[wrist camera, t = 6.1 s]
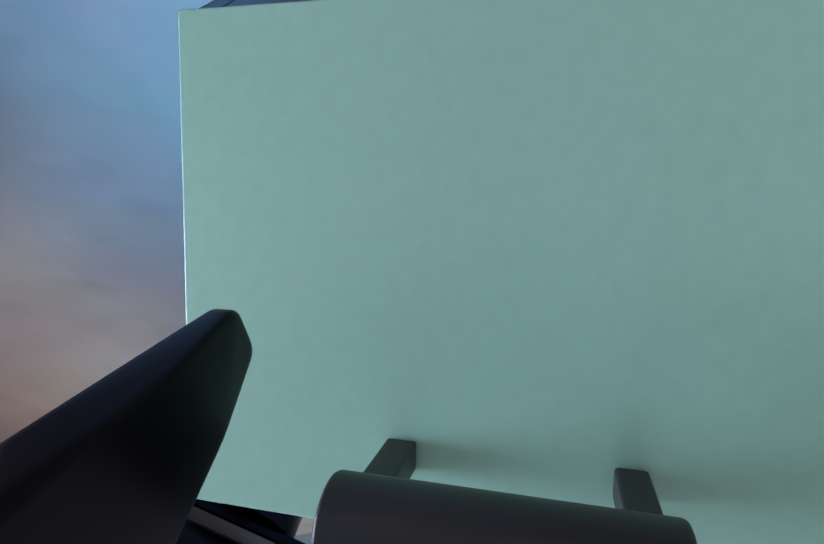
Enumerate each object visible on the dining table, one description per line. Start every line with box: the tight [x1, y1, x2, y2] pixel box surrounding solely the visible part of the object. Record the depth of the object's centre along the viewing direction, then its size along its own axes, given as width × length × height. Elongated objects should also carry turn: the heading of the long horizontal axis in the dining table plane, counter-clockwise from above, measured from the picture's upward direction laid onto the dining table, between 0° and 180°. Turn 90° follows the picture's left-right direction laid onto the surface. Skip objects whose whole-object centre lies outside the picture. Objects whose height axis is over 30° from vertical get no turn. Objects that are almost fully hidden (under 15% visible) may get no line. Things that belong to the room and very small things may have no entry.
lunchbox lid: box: [178, 0, 824, 544], centre depth 10 cm, size 12×16×5 cm
